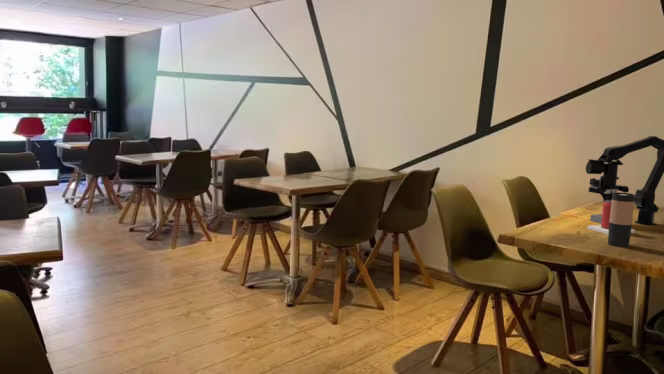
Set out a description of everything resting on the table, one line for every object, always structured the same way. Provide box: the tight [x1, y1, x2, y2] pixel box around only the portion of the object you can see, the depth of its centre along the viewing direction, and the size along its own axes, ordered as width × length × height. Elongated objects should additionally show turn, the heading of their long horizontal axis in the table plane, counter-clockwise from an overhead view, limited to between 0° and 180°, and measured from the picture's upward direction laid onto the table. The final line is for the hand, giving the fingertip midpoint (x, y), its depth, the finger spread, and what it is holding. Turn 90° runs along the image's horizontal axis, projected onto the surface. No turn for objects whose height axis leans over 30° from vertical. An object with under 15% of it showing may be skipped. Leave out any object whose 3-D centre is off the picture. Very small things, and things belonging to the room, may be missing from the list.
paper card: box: [587, 224, 636, 235], centre depth 221 cm, size 14×12×1 cm
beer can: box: [600, 200, 612, 229], centre depth 220 cm, size 7×7×12 cm
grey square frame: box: [589, 213, 602, 224], centre depth 239 cm, size 9×9×3 cm
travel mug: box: [607, 191, 635, 248], centre depth 195 cm, size 8×8×20 cm
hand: (607, 207), depth 238 cm, fingers closed
